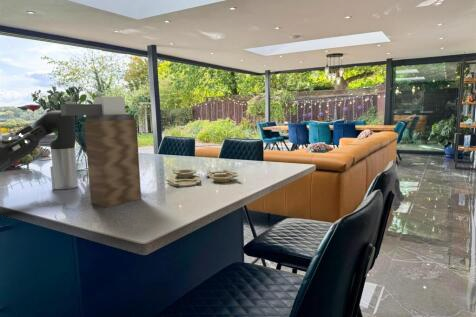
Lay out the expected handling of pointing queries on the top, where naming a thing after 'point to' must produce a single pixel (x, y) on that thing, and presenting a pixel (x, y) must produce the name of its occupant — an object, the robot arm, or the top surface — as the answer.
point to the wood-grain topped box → (112, 159)
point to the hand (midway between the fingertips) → (37, 128)
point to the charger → (96, 107)
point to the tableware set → (191, 182)
